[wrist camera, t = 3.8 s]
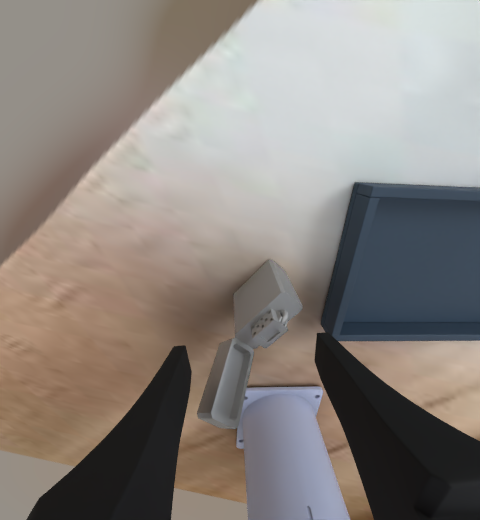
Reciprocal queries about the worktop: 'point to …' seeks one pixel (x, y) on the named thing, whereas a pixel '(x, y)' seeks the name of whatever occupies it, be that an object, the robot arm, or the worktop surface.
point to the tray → (407, 265)
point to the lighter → (247, 341)
